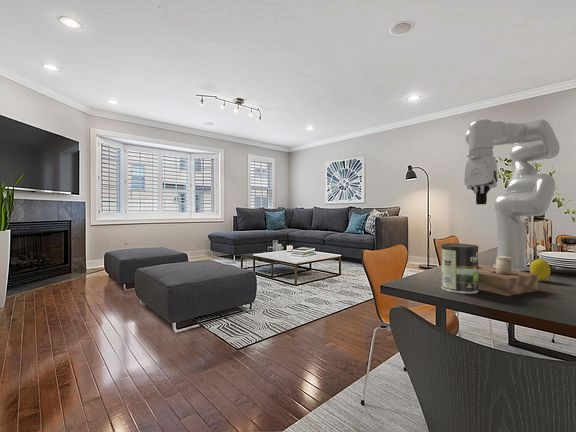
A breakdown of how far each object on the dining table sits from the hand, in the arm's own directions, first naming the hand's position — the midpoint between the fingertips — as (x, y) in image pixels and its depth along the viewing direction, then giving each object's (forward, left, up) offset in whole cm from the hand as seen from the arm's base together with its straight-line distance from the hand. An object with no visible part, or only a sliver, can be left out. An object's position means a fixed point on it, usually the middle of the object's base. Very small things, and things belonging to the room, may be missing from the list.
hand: (481, 204), depth 112 cm
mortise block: (+10, +9, -27) cm, 30 cm away
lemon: (-11, +13, -27) cm, 32 cm away
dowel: (+10, +14, -27) cm, 32 cm away
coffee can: (+23, +9, -27) cm, 37 cm away
